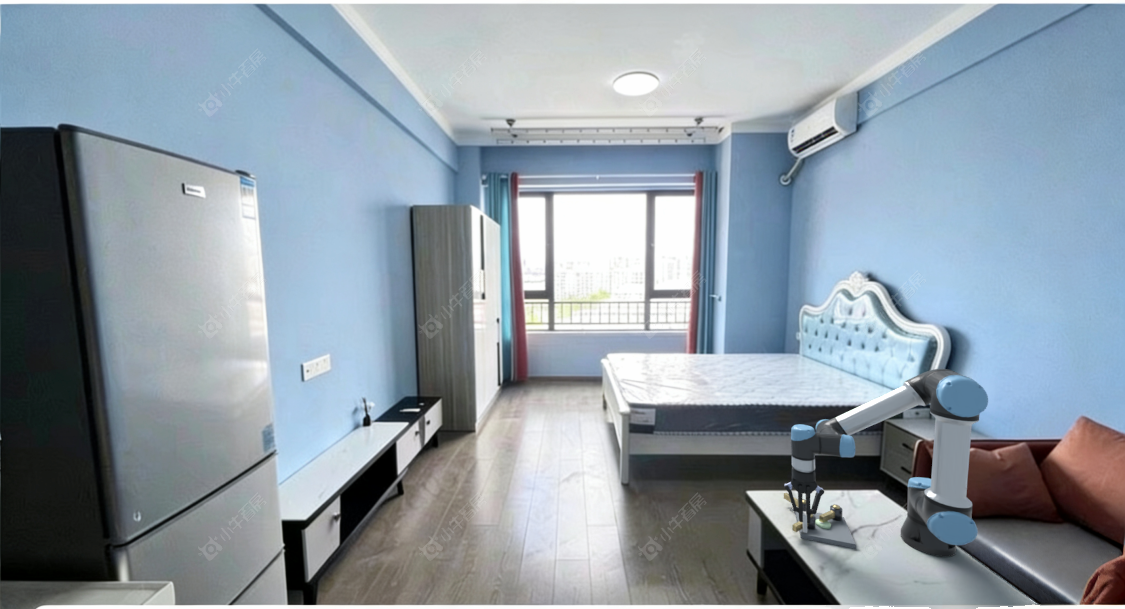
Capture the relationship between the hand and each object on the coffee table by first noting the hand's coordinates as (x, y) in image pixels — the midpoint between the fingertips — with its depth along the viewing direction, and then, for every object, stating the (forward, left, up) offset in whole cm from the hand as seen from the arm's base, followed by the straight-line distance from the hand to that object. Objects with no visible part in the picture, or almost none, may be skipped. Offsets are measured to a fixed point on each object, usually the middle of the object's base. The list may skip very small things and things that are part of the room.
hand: (804, 530), depth 154 cm
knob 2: (0, -3, -1) cm, 3 cm away
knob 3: (-10, -13, -1) cm, 17 cm away
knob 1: (+1, -19, -1) cm, 19 cm away
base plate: (-7, -9, -3) cm, 12 cm away
